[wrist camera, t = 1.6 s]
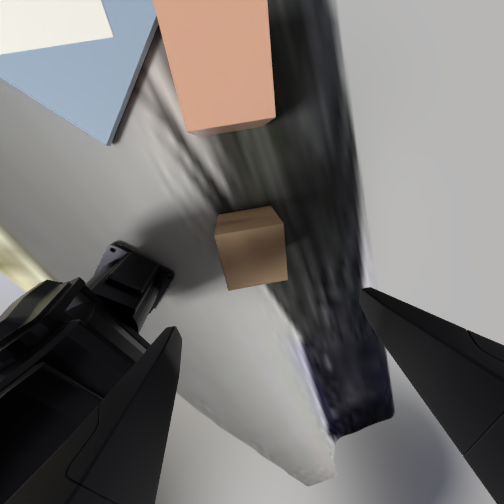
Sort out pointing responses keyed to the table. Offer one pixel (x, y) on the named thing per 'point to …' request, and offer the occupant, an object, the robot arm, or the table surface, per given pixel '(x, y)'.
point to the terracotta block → (219, 62)
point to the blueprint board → (77, 56)
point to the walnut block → (251, 247)
